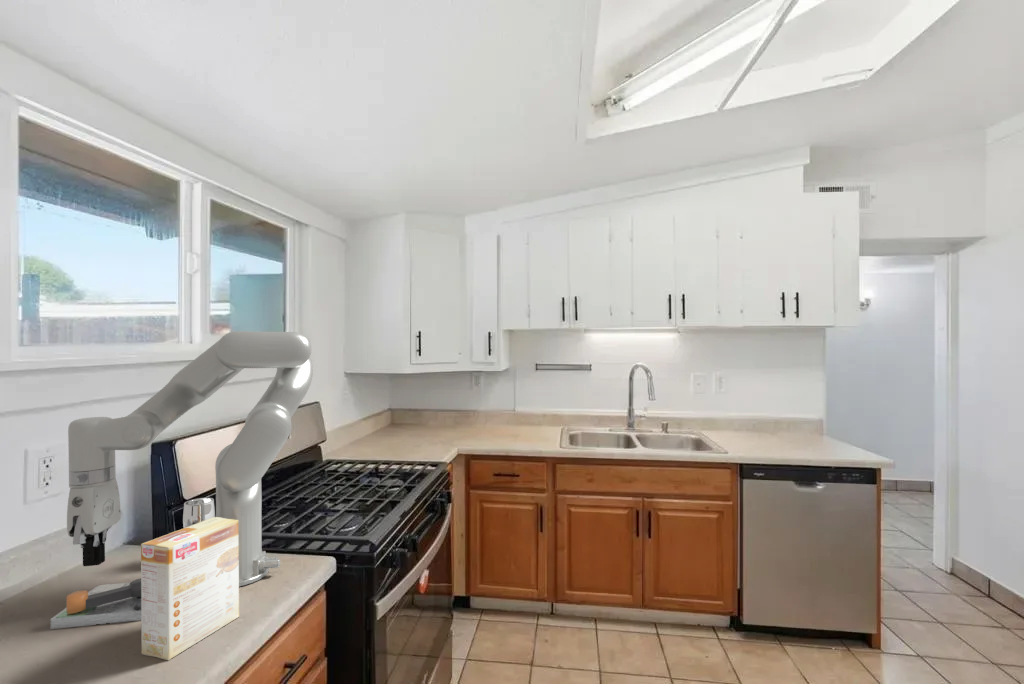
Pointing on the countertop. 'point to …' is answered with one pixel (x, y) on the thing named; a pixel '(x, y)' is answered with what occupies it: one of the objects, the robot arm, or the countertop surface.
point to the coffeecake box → (188, 586)
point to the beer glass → (198, 511)
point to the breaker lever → (101, 597)
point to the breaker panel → (100, 611)
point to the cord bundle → (137, 606)
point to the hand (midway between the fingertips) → (94, 563)
